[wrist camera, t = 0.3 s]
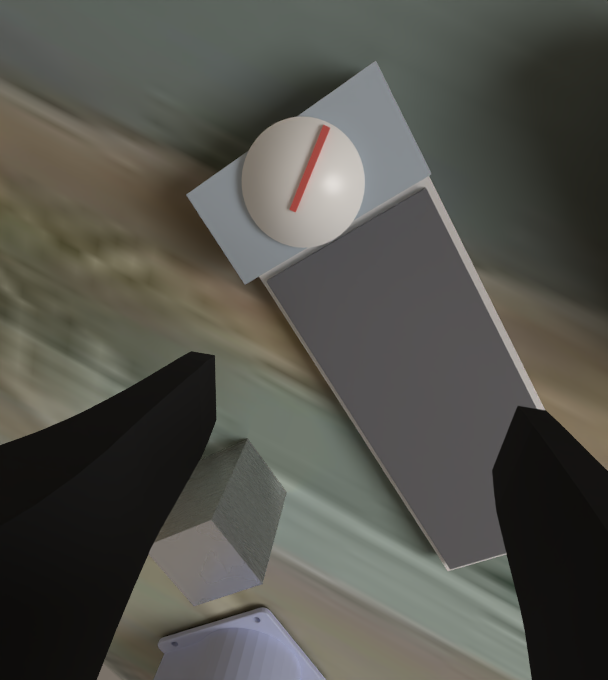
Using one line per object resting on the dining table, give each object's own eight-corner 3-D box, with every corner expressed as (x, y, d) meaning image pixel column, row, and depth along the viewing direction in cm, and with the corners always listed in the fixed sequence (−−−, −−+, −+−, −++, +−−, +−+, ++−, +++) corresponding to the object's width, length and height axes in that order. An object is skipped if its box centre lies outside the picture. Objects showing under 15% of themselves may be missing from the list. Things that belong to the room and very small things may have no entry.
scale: (445, 554, 26) (454, 611, 23) (209, 183, 20) (177, 190, 17) (593, 509, 23) (626, 566, 20) (373, 68, 17) (372, 51, 14)
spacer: (231, 514, 27) (193, 606, 22) (191, 463, 26) (142, 547, 21) (287, 491, 26) (262, 584, 21) (247, 438, 25) (211, 520, 20)
